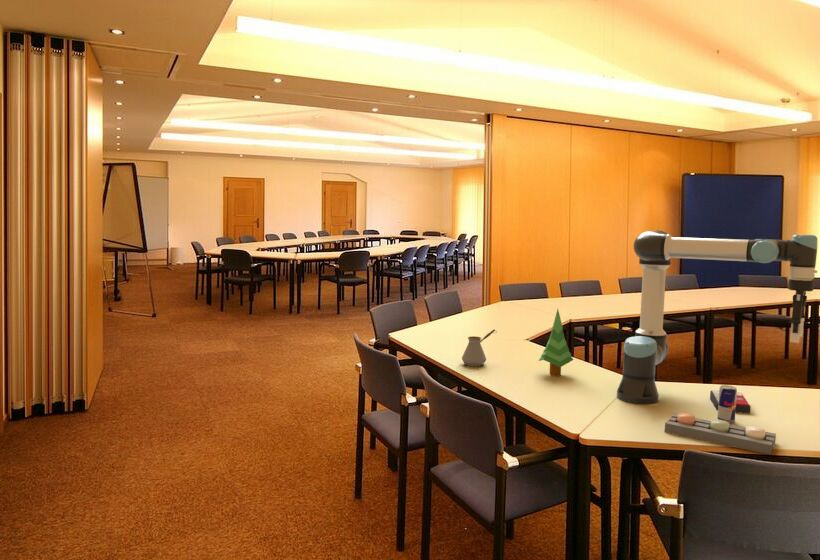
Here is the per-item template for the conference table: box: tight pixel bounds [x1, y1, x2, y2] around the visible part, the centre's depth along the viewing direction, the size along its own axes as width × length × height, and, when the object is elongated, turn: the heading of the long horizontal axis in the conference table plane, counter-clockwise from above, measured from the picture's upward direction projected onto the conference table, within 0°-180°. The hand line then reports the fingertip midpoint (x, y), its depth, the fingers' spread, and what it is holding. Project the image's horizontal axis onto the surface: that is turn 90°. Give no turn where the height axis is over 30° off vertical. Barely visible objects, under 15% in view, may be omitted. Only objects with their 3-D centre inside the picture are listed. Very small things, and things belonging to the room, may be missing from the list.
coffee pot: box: [461, 329, 498, 367], centre depth 284 cm, size 21×12×15 cm, turn 134°
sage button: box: [710, 419, 730, 433], centre depth 191 cm, size 5×5×3 cm
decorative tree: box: [538, 308, 574, 377], centre depth 263 cm, size 14×16×30 cm
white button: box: [745, 425, 766, 440], centre depth 185 cm, size 5×5×3 cm
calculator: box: [709, 389, 751, 414], centre depth 224 cm, size 11×4×15 cm
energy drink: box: [717, 384, 738, 424], centre depth 207 cm, size 5×5×12 cm
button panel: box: [664, 413, 777, 455], centre depth 192 cm, size 30×12×3 cm, turn 53°
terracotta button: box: [677, 412, 696, 426], centre depth 197 cm, size 5×5×3 cm
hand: (796, 339), depth 210 cm, fingers open, 13 cm apart
